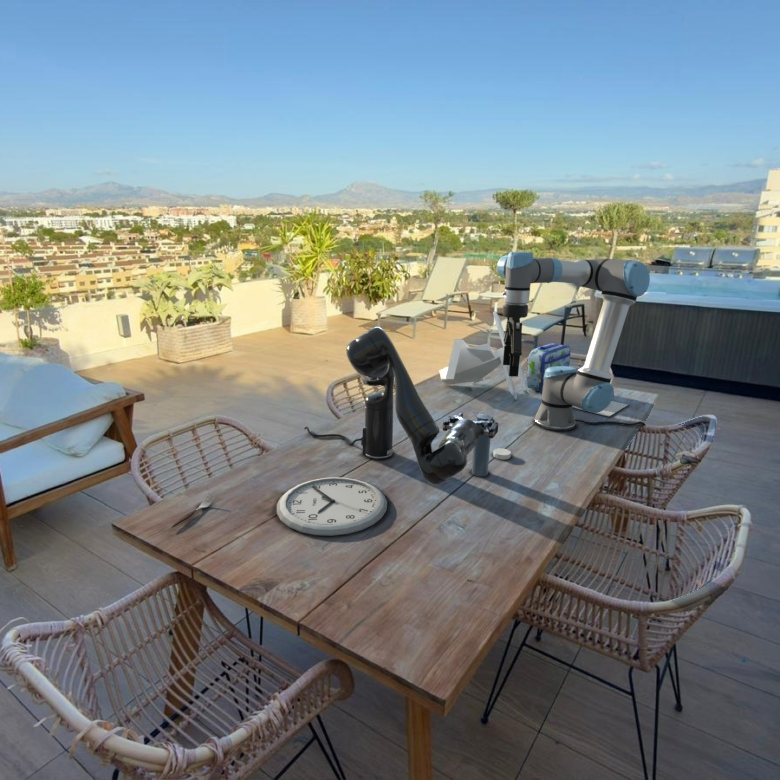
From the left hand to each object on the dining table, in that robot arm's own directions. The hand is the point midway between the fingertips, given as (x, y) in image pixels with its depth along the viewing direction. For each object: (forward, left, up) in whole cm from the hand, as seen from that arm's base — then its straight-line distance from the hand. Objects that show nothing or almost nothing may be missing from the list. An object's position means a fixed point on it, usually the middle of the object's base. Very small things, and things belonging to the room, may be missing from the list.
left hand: (476, 417), depth 147 cm
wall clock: (-33, -25, -22) cm, 47 cm away
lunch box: (+9, +115, -22) cm, 117 cm away
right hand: (+4, +27, +8) cm, 28 cm away
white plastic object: (-19, +94, -22) cm, 98 cm away
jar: (0, +11, -22) cm, 25 cm away
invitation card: (+34, +96, -22) cm, 104 cm away
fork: (-64, -44, -22) cm, 80 cm away
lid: (+4, +26, -21) cm, 34 cm away
